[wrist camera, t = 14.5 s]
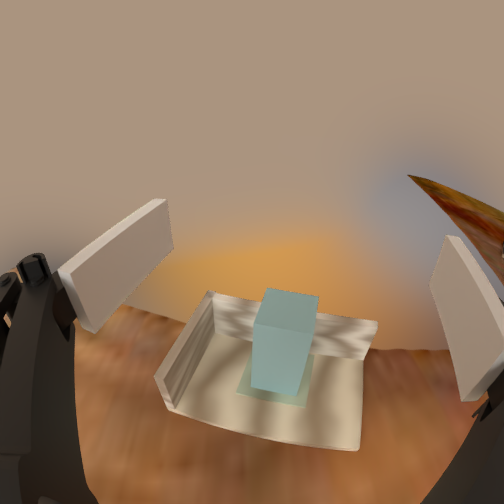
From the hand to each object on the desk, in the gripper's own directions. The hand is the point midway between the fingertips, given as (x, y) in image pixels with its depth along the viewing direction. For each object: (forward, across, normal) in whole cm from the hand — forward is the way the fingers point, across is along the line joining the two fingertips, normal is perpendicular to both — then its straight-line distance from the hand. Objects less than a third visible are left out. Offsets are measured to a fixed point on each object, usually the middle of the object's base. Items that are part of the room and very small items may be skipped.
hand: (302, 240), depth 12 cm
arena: (+10, -2, -27) cm, 29 cm away
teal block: (+11, -2, -26) cm, 29 cm away
